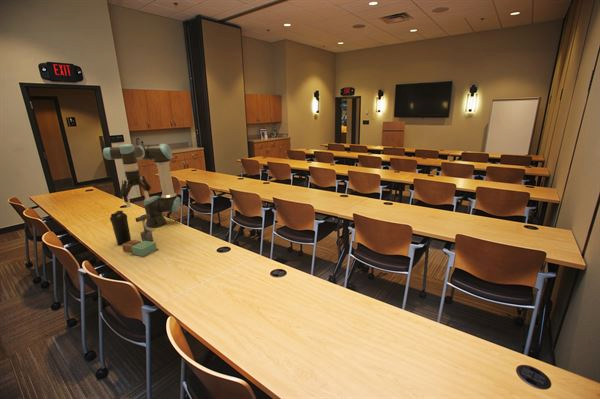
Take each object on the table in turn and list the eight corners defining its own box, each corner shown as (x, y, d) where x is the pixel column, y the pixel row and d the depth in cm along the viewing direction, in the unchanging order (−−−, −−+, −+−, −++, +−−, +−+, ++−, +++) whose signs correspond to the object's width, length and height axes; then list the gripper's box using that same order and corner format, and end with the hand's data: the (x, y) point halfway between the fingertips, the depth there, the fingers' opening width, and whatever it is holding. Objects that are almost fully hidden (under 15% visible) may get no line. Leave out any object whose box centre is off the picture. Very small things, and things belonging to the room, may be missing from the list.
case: (134, 246, 201) (132, 239, 199) (142, 248, 198) (140, 241, 196) (123, 251, 194) (121, 244, 192) (131, 253, 191) (130, 246, 189)
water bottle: (135, 239, 211) (129, 209, 205) (126, 246, 202) (119, 214, 195) (122, 239, 212) (115, 209, 206) (112, 246, 203) (105, 214, 196)
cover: (156, 249, 194) (155, 242, 192) (143, 256, 185) (142, 248, 184) (145, 247, 198) (144, 240, 196) (132, 253, 189) (130, 246, 187)
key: (138, 233, 201) (135, 218, 197) (151, 228, 208) (148, 214, 205) (146, 236, 195) (143, 220, 192) (159, 231, 202) (156, 216, 199)
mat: (146, 246, 199) (145, 246, 199) (159, 249, 194) (158, 249, 194) (130, 254, 188) (130, 254, 188) (143, 257, 184) (143, 257, 184)
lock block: (148, 240, 209) (146, 229, 207) (153, 241, 207) (151, 230, 205) (142, 243, 205) (140, 232, 202) (147, 244, 203) (145, 233, 201)
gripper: (144, 166, 190) (150, 197, 196) (107, 174, 168) (115, 209, 174) (153, 166, 187) (159, 198, 193) (116, 174, 165) (124, 210, 171)
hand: (138, 203), depth 183 cm, fingers open, 13 cm apart
